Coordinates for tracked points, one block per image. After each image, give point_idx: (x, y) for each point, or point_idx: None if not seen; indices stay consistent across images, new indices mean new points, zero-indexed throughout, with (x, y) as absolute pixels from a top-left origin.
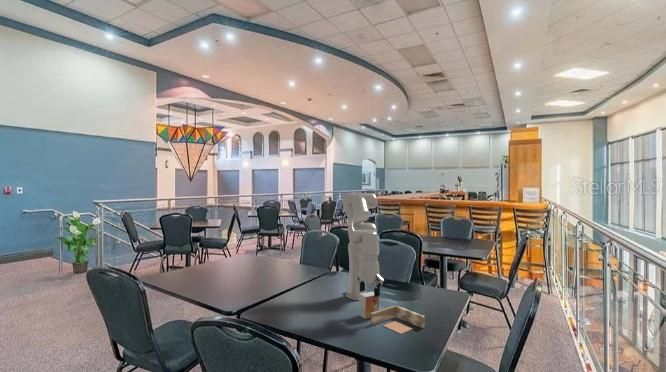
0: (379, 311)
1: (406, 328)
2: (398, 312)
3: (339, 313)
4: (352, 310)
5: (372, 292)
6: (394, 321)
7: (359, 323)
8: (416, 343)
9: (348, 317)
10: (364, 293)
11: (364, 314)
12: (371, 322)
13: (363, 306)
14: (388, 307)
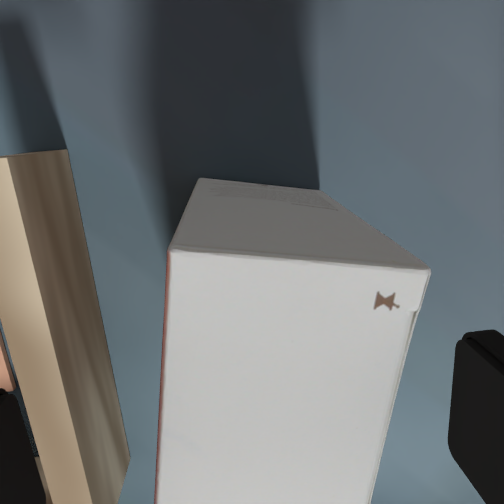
0: (8, 297)
1: None
2: (46, 497)
3: (489, 26)
4: (455, 211)
5: None
6: (2, 378)
7: (140, 50)
8: None
9: (340, 46)
10: (364, 362)
11: (207, 183)
12: (47, 151)
13: (236, 202)
14: (75, 463)
